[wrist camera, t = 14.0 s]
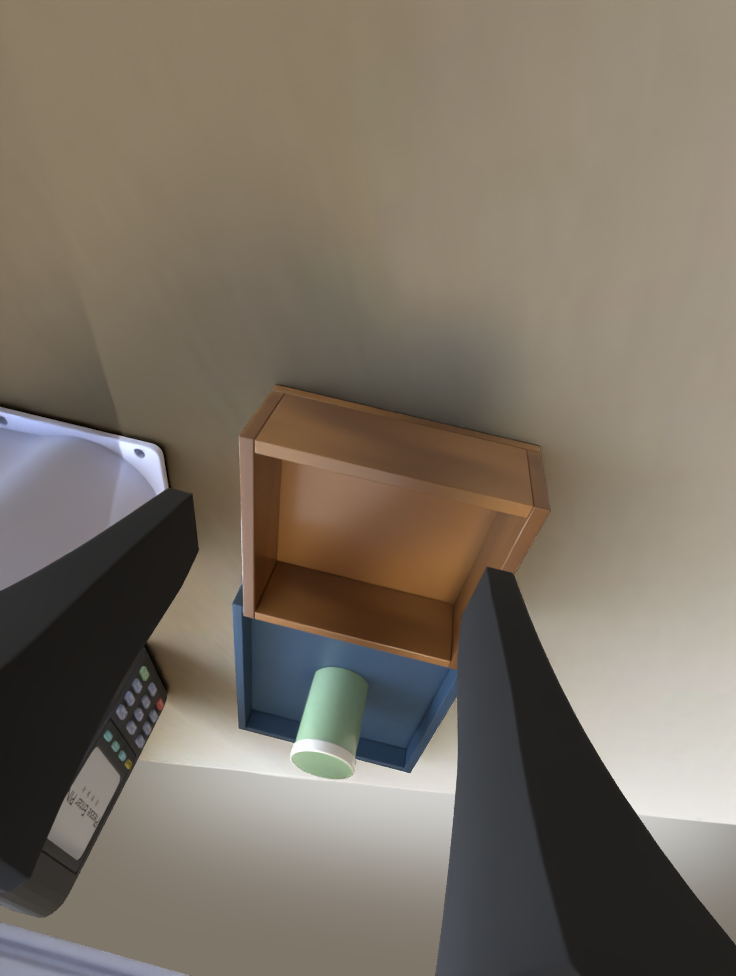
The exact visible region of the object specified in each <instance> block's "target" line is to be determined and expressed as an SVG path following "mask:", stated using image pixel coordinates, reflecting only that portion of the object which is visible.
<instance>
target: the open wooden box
mask: <svg viewBox="0 0 736 976" xmlns="http://www.w3.org/2000/svg"><path fill="white" fill-rule="evenodd" d="M239 462H240V499H241V536H242V573H243V610H244V616H245V617H249V618H255V619H257V620H261V621H265V622H269V623H273V624H277V625H281V626H285V627H289V628H293V629H297V630H301V631H305V632H309V633H313V634H317V635H321V636H325V637H329V638H333V639H337V640H341V641H345V642H348V643H352V644H356V645H360V646H364V647H368V648H372V649H376V650H380V651H384V652H388V653H392V654H396V655H400V656H404V657H408V658H412V659H416V660H420V661H424V662H428V663H432V664H436V665H440V666H444V667H449V668H451V669H455V670H457V654H458V644H459V634H460V626H461V617H462V614H463V612H464V610H465V608H466V606H467V604H468V602H469V600H470V598H471V596H472V594H473V592H474V591H475V589H476V587H477V585H478V583H479V581H480V579H481V577H482V575H483V573H484V571H485V569H486V567H491V568H495V569H499V570H503V571H507V572H511V573H513V575H514V574H515V573H516V571H517V569H518V567H519V566H520V564H521V562H522V560H523V559H524V557H525V555H526V553H527V551H528V550H529V548H530V546H531V544H532V543H533V541H534V539H535V537H536V536H537V534H538V532H539V530H540V529H541V527H542V525H543V523H544V522H545V520H546V518H547V516H548V515H549V513H550V511H551V510H550V504H549V498H548V492H547V487H546V481H545V475H544V469H543V463H542V457H541V452H540V447H539V446H536V445H532V444H528V443H523V442H519V441H515V440H511V439H506V438H502V437H498V436H493V435H489V434H485V433H481V432H476V431H472V430H468V429H464V428H459V427H455V426H451V425H446V424H442V423H438V422H434V421H429V420H425V419H421V418H417V417H412V416H408V415H404V414H399V413H395V412H391V411H387V410H382V409H378V408H374V407H370V406H365V405H361V404H357V403H352V402H348V401H344V400H340V399H335V398H331V397H327V396H323V395H318V394H314V393H310V392H305V391H301V390H297V389H293V388H288V387H284V386H280V385H275V386H274V387H273V388H272V391H270V393H269V394H268V396H267V397H266V399H265V400H264V401H263V403H262V404H261V406H260V407H259V408H258V410H257V411H256V413H255V414H254V416H253V417H252V418H251V420H250V421H249V423H248V424H247V425H246V427H245V428H244V430H243V431H242V433H241V434H240V435H239Z"/></svg>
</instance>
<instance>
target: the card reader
mask: <svg viewBox="0 0 736 976" xmlns="http://www.w3.org/2000/svg"><path fill="white" fill-rule="evenodd" d="M166 699H167V693H166V691H165V689H164V687H163V685H162V682H161V680H160V678H159V676H158V674H157V672H156V670H155V668H154V665H153V663H152V661H151V659H150V657H149V655H148V653H147V651H146V649H145V647H143V648H142V650H141V651H140V653H139V654H138V656H137V657H136V659H135V661H134V662H133V664H132V665H131V667H130V669H129V670H128V672H127V674H126V675H125V677H124V679H123V680H122V682H121V684H120V686H119V688H118V690H117V692H116V694H115V695H114V697H113V699H112V701H111V703H110V705H109V707H108V709H107V711H106V713H105V715H104V717H103V719H102V721H101V723H100V725H99V727H98V729H97V731H96V733H95V735H94V737H93V739H92V741H91V743H90V745H89V747H88V749H87V751H86V753H85V755H84V758H83V760H82V762H81V764H80V766H79V768H78V770H77V772H76V775H75V777H74V779H73V781H72V783H71V785H70V788H69V790H68V792H67V794H66V796H65V799H64V801H63V803H62V805H61V807H60V809H59V812H58V814H57V816H56V819H55V821H54V823H53V826H52V828H51V830H50V833H49V835H48V837H47V840H46V842H45V844H44V847H43V849H42V851H41V854H40V856H39V858H38V861H37V863H36V866H35V868H34V871H33V873H32V876H31V878H30V879H29V880H28V881H27V882H25V883H24V884H23V885H21V886H19V887H18V888H16V889H14V890H13V891H10V892H8V893H5V892H1V891H0V905H1V906H3V907H5V908H8V909H10V910H12V911H16V912H20V913H23V914H27V915H31V916H35V917H38V918H41V917H47V916H48V915H50V914H52V913H53V912H54V911H56V910H57V909H58V908H59V907H60V906H61V905H62V904H63V902H64V901H65V899H66V898H67V896H68V894H69V893H70V890H71V889H72V887H73V885H74V883H75V881H76V879H77V877H78V875H79V873H80V871H81V869H82V867H83V865H84V863H85V861H86V859H87V857H88V856H89V854H90V852H91V850H92V847H93V846H94V844H95V842H96V840H97V838H98V836H99V834H100V832H101V830H102V828H103V826H104V824H105V822H106V820H107V818H108V816H109V815H110V813H111V810H112V809H113V806H114V805H115V803H116V801H117V799H118V797H119V795H120V793H121V791H122V789H123V787H124V785H125V783H126V781H127V779H128V777H129V776H130V773H131V772H132V770H133V768H134V766H135V764H136V762H137V760H138V758H139V756H140V754H141V752H142V750H143V748H144V746H145V744H146V742H147V740H148V738H149V736H150V734H151V732H152V730H153V728H154V726H155V724H156V722H157V720H158V718H159V716H160V714H161V712H162V710H163V708H164V705H165V702H166Z"/></svg>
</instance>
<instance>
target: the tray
mask: <svg viewBox="0 0 736 976" xmlns="http://www.w3.org/2000/svg"><path fill="white" fill-rule="evenodd" d="M232 610H233V629H234V648H235V667H236V686H237V704H238V723H239V729H243V730H247V731H251V732H254V733H258V734H262V735H266V736H270V737H274V738H277V739H281V740H285V741H289V742H293V743H295V739H296V736H297V732H298V729H299V725H300V722H301V718H302V715H303V711H304V708H305V704H306V701H307V697H308V694H309V690H310V687H311V683H312V680H313V676H314V674H315V672H316V671H318V670H319V669H321V668H325V667H339V668H344V669H348V670H350V671H353V672H355V673H357V674H359V675H360V676H362V677H363V678H364V679H365V680H366V681H367V683H368V685H369V691H368V696H367V701H366V707H365V712H364V717H363V723H362V728H361V734H360V739H359V744H358V750H357V755H356V759H358V760H362V761H365V762H369V763H373V764H377V765H381V766H385V767H388V768H392V769H396V770H400V771H404V772H407V773H411V771H412V769H413V768H414V766H415V764H416V763H417V761H418V759H419V758H420V756H421V754H422V753H423V751H424V749H425V748H426V746H427V744H428V743H429V741H430V740H431V738H432V736H433V735H434V733H435V731H436V730H437V728H438V726H439V725H440V723H441V721H442V720H443V718H444V716H445V715H446V713H447V711H448V710H449V708H450V706H451V705H452V703H453V701H454V700H455V698H456V696H457V670H455V669H451V668H449V667H444V666H440V665H436V664H432V663H428V662H424V661H420V660H416V659H412V658H408V657H404V656H400V655H396V654H392V653H388V652H384V651H380V650H376V649H372V648H368V647H364V646H360V645H356V644H352V643H348V642H345V641H341V640H337V639H333V638H329V637H325V636H321V635H317V634H313V633H309V632H305V631H301V630H297V629H293V628H289V627H285V626H281V625H277V624H273V623H269V622H265V621H261V620H257V619H255V618H249V617H245V616H244V610H243V582H242V585H241V586H240V589H239V591H238V593H237V595H236V597H235V599H234V601H233V603H232Z"/></svg>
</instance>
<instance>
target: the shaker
mask: <svg viewBox="0 0 736 976" xmlns="http://www.w3.org/2000/svg"><path fill="white" fill-rule="evenodd" d="M368 691H369V685H368V683H367V681H366V680H365V679H364V678H363V677H362V676H360V675H359V674H357V673H355V672H353V671H350V670H348V669H344V668H339V667H325V668H321V669H319V670H318V671H316V672H315V674H314V676H313V680H312V683H311V687H310V690H309V694H308V697H307V701H306V704H305V708H304V711H303V715H302V718H301V722H300V725H299V729H298V732H297V736H296V739H295V743H294V745H293V747H292V751H291V754H290V759H291V761H292V763H293V764H294V765H295V766H296V767H298V768H299V769H301V770H303V771H305V772H307V773H309V774H312V775H315V776H318V777H322V778H328V779H345V778H349V777H351V776H352V775H353V773H354V770H355V765H356V755H357V750H358V744H359V739H360V734H361V728H362V723H363V717H364V712H365V707H366V701H367V696H368Z"/></svg>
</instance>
